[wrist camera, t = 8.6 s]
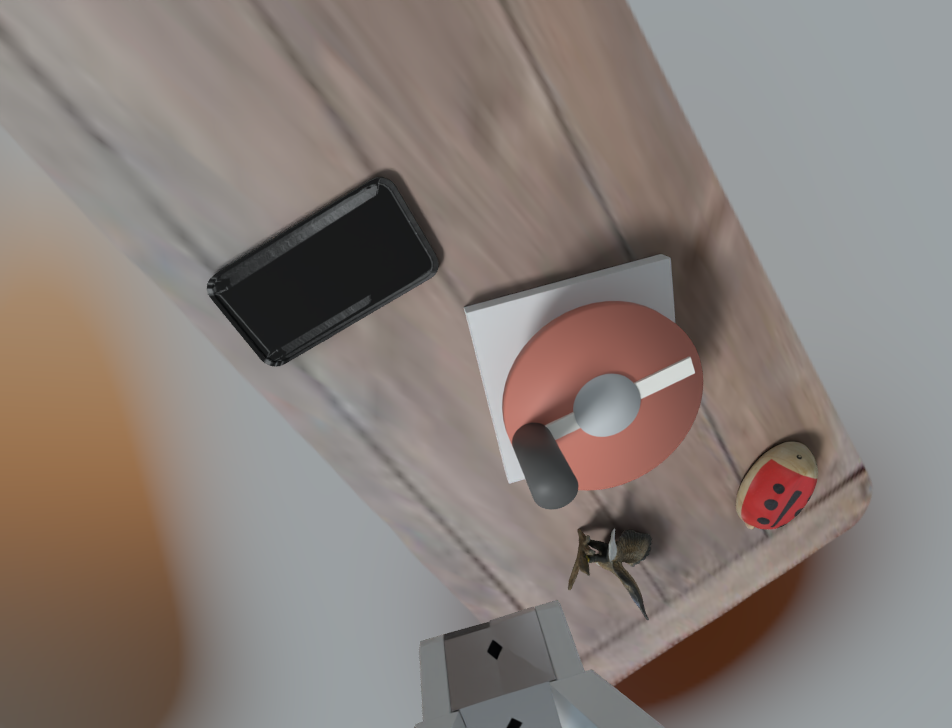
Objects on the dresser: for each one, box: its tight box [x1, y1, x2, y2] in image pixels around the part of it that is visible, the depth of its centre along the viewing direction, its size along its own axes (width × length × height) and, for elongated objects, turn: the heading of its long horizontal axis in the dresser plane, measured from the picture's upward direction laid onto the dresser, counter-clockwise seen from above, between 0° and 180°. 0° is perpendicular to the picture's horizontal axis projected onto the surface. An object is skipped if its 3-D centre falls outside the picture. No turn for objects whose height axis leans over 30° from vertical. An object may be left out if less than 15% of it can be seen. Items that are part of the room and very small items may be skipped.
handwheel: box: [502, 301, 703, 509], centre depth 36 cm, size 15×15×7 cm
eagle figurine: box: [568, 528, 652, 620], centre depth 50 cm, size 8×7×9 cm
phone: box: [207, 177, 438, 366], centre depth 38 cm, size 8×1×15 cm
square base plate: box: [464, 254, 675, 483], centre depth 42 cm, size 16×16×4 cm
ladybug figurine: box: [736, 442, 818, 529], centre depth 51 cm, size 7×10×4 cm
